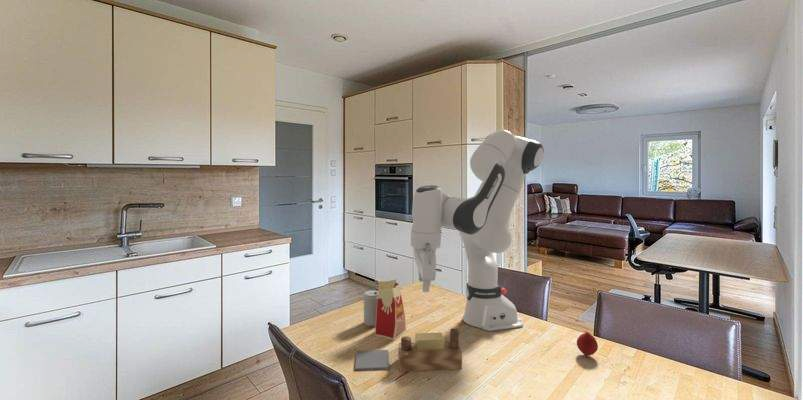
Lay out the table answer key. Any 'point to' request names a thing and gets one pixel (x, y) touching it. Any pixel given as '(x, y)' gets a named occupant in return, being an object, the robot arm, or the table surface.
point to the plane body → (430, 355)
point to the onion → (587, 344)
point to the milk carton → (389, 311)
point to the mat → (372, 360)
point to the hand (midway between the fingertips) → (423, 285)
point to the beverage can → (370, 308)
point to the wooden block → (429, 342)
